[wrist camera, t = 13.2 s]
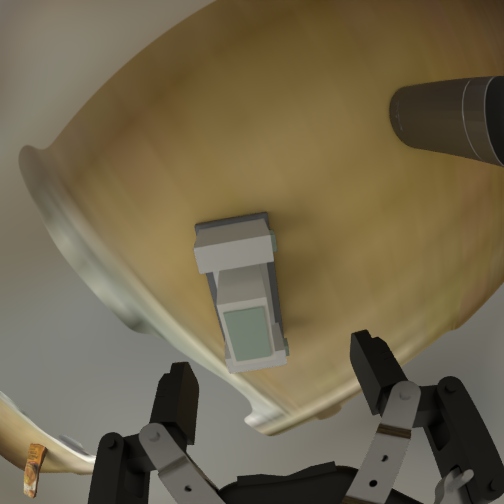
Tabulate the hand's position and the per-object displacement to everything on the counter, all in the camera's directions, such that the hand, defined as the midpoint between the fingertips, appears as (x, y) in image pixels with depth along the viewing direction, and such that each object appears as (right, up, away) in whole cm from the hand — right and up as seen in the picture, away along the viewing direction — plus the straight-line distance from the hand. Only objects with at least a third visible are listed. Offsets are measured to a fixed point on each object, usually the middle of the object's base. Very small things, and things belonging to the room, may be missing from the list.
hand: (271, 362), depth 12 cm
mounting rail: (-2, 0, +26) cm, 26 cm away
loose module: (-2, 0, +25) cm, 25 cm away
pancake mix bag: (-92, -79, +53) cm, 133 cm away
